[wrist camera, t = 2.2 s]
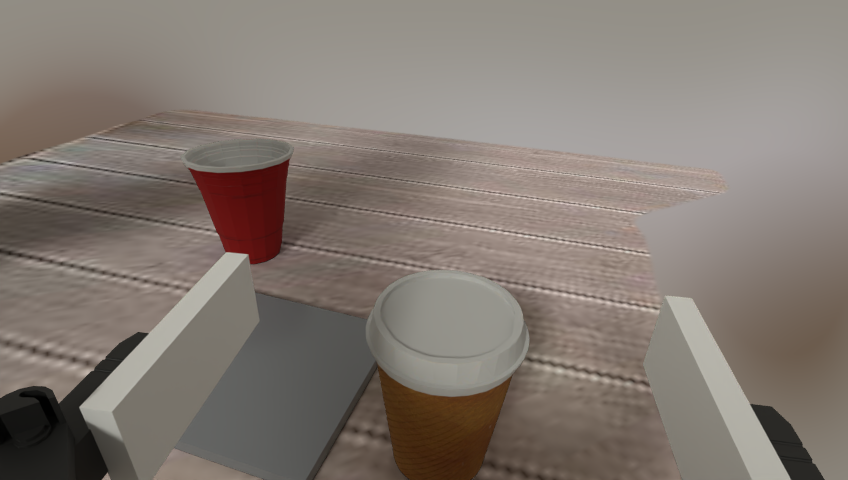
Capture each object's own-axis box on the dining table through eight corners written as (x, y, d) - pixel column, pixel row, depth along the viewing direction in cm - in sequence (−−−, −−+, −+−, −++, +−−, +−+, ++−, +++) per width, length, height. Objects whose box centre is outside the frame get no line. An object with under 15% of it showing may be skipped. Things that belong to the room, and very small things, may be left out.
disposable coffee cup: (446, 548, 29) (461, 402, 23) (340, 449, 35) (330, 310, 29) (534, 446, 35) (563, 310, 29) (433, 376, 41) (440, 249, 35)
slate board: (103, 423, 36) (100, 414, 35) (241, 297, 49) (240, 288, 48) (304, 493, 32) (303, 483, 31) (395, 335, 45) (395, 326, 44)
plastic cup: (298, 222, 63) (288, 128, 57) (309, 268, 54) (299, 162, 48) (204, 233, 59) (183, 134, 53) (200, 284, 51) (174, 173, 45)
